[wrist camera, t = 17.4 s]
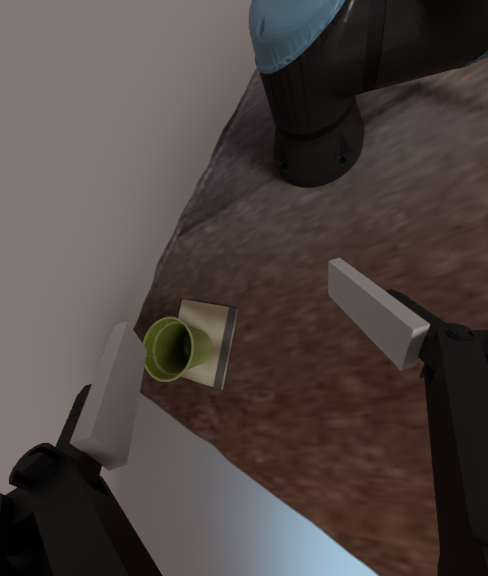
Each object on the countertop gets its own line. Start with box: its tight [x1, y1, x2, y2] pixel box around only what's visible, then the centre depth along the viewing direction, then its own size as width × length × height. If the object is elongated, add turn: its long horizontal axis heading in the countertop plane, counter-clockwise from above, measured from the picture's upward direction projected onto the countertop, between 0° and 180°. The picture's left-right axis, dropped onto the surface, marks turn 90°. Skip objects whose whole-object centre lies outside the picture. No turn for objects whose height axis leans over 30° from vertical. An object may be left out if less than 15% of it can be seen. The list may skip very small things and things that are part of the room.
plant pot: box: [143, 317, 212, 382], centre depth 38 cm, size 9×9×9 cm
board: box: [178, 299, 238, 390], centre depth 43 cm, size 14×12×1 cm
